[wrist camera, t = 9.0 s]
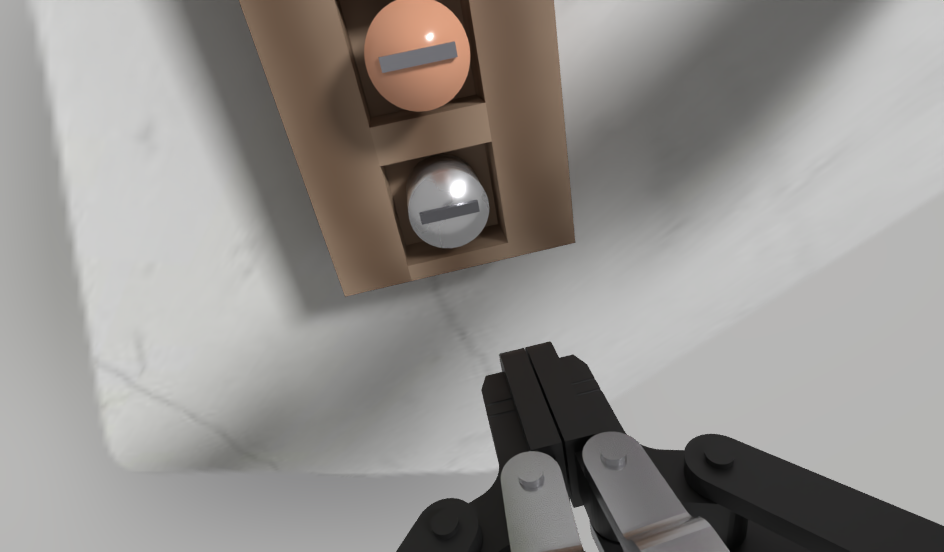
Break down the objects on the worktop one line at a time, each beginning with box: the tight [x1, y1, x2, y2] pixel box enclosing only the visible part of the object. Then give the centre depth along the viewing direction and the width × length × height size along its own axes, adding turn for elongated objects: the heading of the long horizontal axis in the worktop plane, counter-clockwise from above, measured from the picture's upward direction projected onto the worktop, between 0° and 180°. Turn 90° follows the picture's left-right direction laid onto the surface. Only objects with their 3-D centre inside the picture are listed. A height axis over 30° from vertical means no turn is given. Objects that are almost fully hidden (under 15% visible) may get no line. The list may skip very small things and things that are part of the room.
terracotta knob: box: [364, 0, 470, 112], centre depth 22 cm, size 4×4×4 cm
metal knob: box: [406, 154, 489, 248], centre depth 28 cm, size 4×4×4 cm
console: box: [239, 0, 575, 297], centre depth 26 cm, size 14×24×6 cm, turn 10°
